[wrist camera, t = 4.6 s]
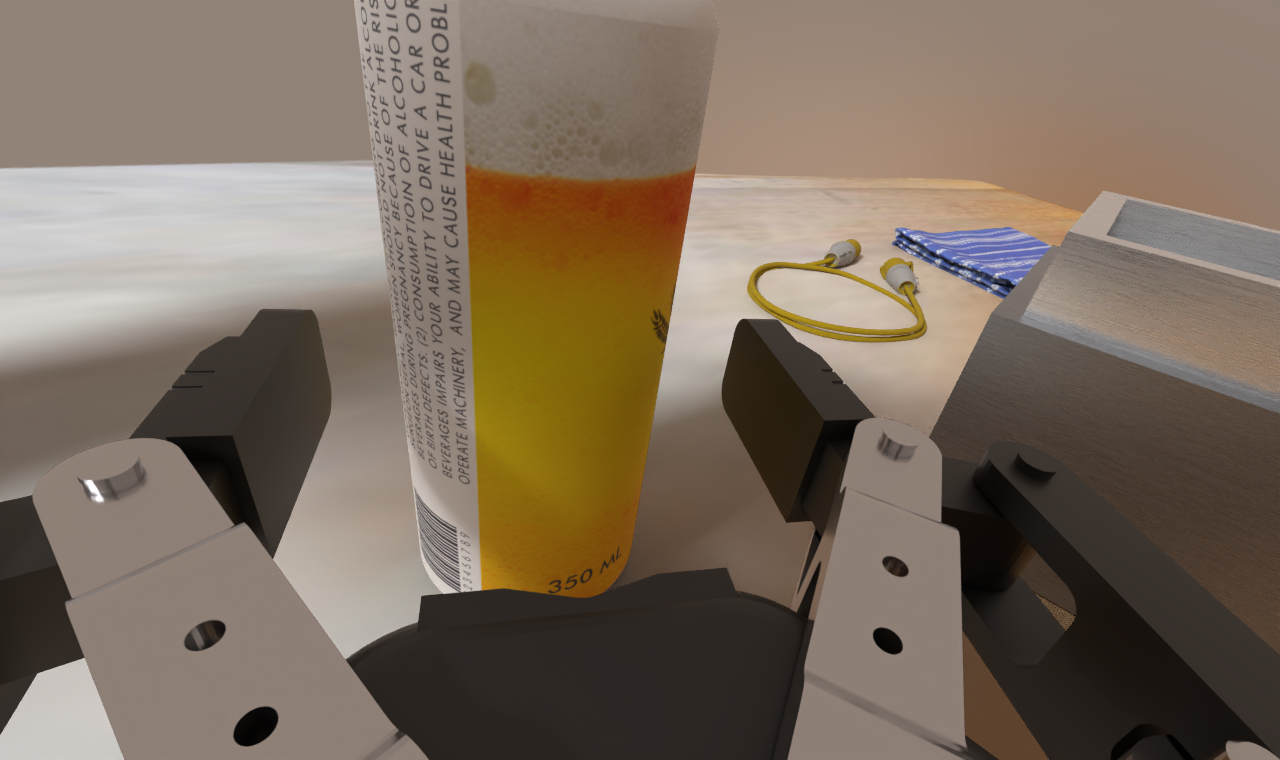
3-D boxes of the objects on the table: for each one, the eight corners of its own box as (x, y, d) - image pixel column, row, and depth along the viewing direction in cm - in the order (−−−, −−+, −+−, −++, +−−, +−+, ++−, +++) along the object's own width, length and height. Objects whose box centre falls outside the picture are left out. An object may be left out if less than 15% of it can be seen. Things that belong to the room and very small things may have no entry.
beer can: (665, 538, 18) (788, -35, 10) (536, 688, 14) (575, -124, 6) (524, 455, 21) (535, -59, 13) (376, 559, 16) (249, -132, 8)
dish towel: (1188, 398, 33) (1221, 356, 31) (880, 248, 50) (892, 216, 48) (1305, 360, 40) (1336, 324, 39) (1002, 241, 57) (1015, 213, 56)
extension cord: (991, 323, 38) (1005, 296, 37) (834, 367, 30) (846, 334, 29) (850, 257, 47) (858, 233, 46) (698, 278, 39) (703, 250, 38)
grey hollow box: (891, 511, 21) (1034, 227, 15) (970, 401, 28) (1084, 183, 23) (1525, 868, 13) (2283, 565, 8) (1402, 588, 21) (1736, 331, 15)
